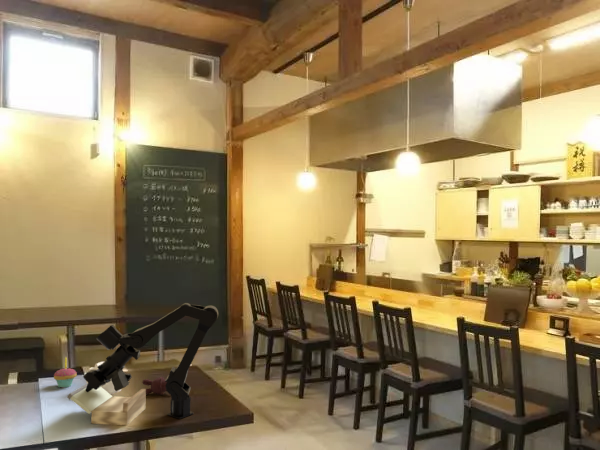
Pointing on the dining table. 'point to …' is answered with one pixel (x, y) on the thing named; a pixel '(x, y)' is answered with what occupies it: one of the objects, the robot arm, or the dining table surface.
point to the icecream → (156, 385)
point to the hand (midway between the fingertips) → (86, 391)
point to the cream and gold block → (119, 409)
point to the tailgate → (89, 398)
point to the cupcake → (65, 376)
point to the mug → (108, 386)
